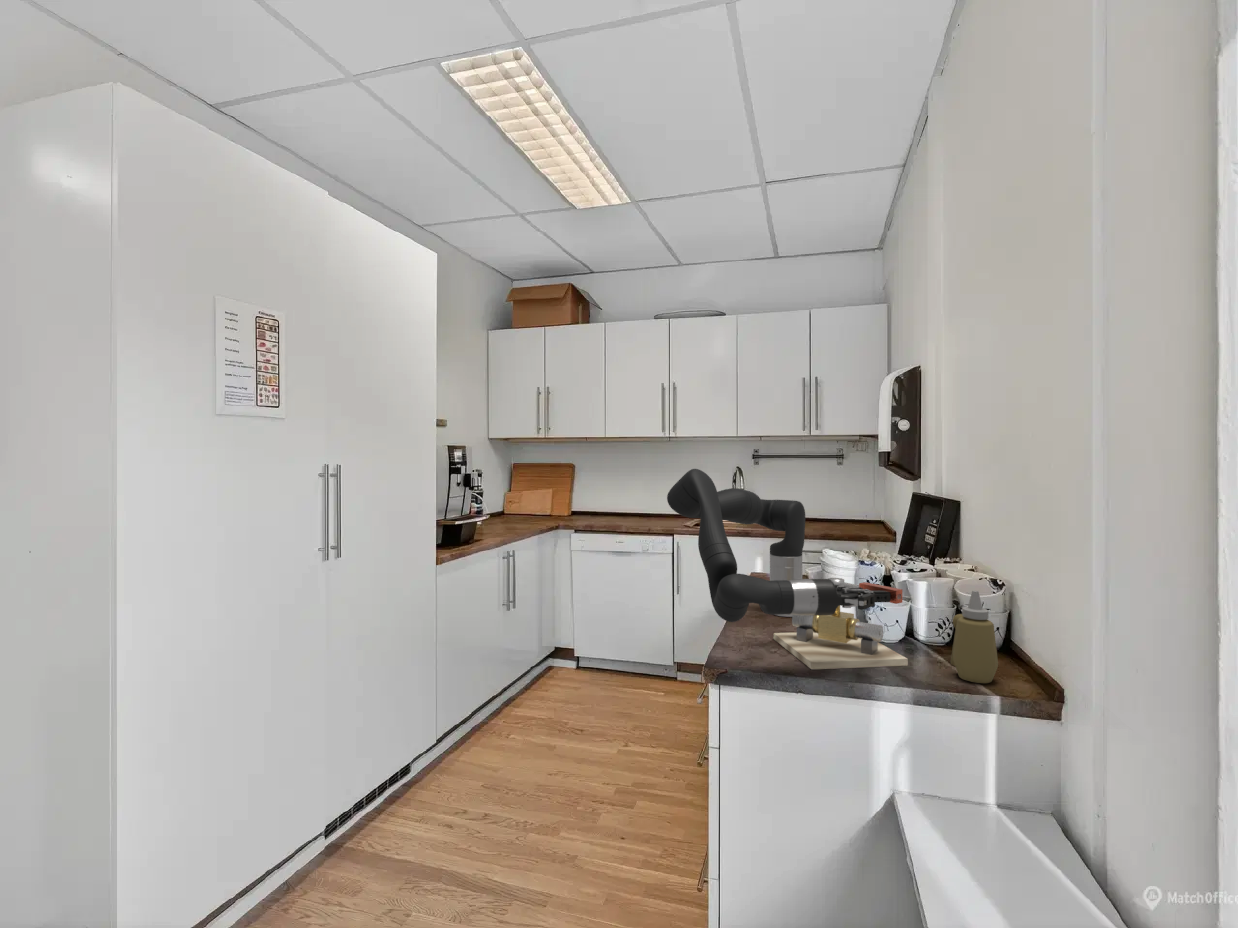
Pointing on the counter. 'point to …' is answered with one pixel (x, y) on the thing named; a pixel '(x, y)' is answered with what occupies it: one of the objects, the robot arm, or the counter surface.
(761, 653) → the counter surface
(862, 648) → the valve and pipe
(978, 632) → the squeeze bottle
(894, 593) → the lever
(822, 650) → the base board
